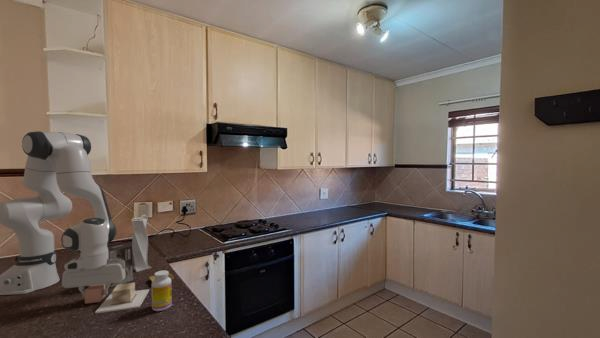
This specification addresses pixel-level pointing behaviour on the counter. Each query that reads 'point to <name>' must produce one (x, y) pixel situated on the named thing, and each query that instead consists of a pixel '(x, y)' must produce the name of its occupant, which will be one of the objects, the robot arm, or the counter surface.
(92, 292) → the coral cube
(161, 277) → the supplement bottle
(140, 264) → the skyscraper
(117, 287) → the birch block
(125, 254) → the coffee box
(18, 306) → the counter surface
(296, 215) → the counter surface
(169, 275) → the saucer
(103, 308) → the white flat square slab
